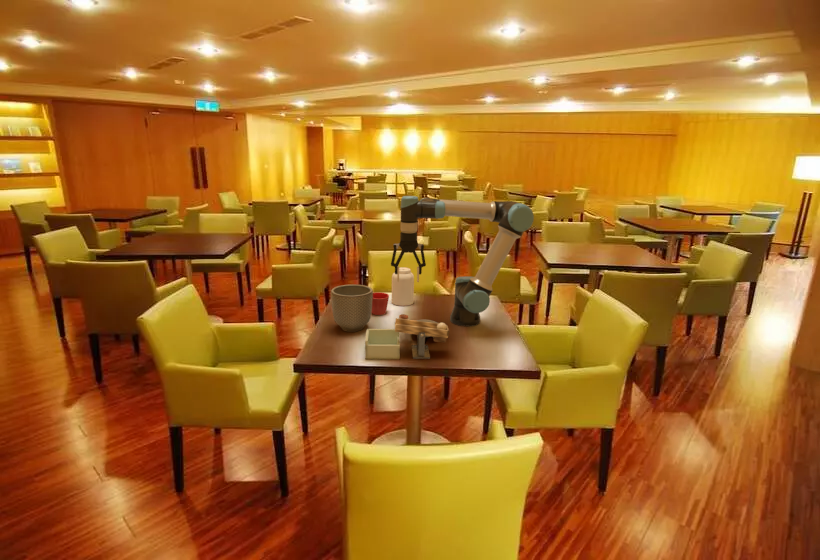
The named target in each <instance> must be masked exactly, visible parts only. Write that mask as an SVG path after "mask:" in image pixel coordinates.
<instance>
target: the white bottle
mask: <svg viewBox="0 0 820 560" xmlns="http://www.w3.org/2000/svg"><path fill="white" fill-rule="evenodd" d="M414 292H415V275H414V273H413V272H412V269H411V268H409V267H404V266H399V282H397V274H395V271H394V272H393V273H392V275H391V303H392V305H396V306H400V307H402V306H403V307H406V306H411V305H413V304H414V301H415V300H414V299H415V298H414V296H415V295H414Z"/></svg>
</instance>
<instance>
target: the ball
mask: <svg viewBox="0 0 820 560" xmlns="http://www.w3.org/2000/svg"><path fill="white" fill-rule="evenodd" d="M438 323H439V324H438V325H437V329H442V330H446V323H445V322H438Z"/></svg>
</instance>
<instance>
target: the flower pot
mask: <svg viewBox="0 0 820 560" xmlns="http://www.w3.org/2000/svg"><path fill="white" fill-rule="evenodd" d="M389 298H390V295H389V294H388V293H385V292H373V302H372V313H371V315H374V316H383V315H385V314H386V313H387V308H388V304H389Z"/></svg>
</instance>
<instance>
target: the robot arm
mask: <svg viewBox="0 0 820 560" xmlns="http://www.w3.org/2000/svg"><path fill="white" fill-rule="evenodd" d="M400 200H401V201H400V231H401V232H400V238H399V239H400V240H399V243H393V251H392V256H391V263H390V266H391V267H394V272H395V274H397V282H399V268H400V266H399V264H400V263H401V260H402V259H403V256H404V254H405V253H406V254H407V253H410V254H413V256H414V259H415V261H416V263H417V265H418V266H417V267H416V282H417V283H419V282H420V275H422V273H423V270H422V268H423V267H426V265H427V263H426V258H425V253H424V248H425V244H423V243H418V223H419V222H418V221H419V220H418V219H436V220H438V219H444V218H445V217H455V218H456V217H457V218H467V219H481V220H482V219H483V220H489V222H491V223H493V222H495V223H498V225H497V227H498V232H497V233H496V236H495V238H494V239H493V242H492V244H491V245H490V248H489V249H488V250H487V253H486V255H485V257H484V258H483V260H482V263H481V265H480V266H479V268H478V270H477V272H476V274H475V276H458V277H456V278H455V282H454V302H453V303H454V304H453V308H452V312H451V313H450V317H449V320H450V322H451V323H452V324H453V325H457V326H461V327H475V326H478V325H479V324H480V323H481V316H480V313H482V312H485V311H486V310H487V309H488V307H489V306H490V303H491V302H490V301H491V300H490V296H491V295H492V292H493V287H492V285H493V283H494V282H495V280H496V278H497V276H498V274H499V272H500V270H501V268H502V266H504V265H503V264H504V263H505V262H506V259H507V257H508V255H509V253H510V251H511V249H512V247H513V246H514V244H515V242H516V240H517V239H520V238H521V237H522V236H523V234H524V233H525V231H527V230H529V229H530V228H531V227H532V225H533V224H534V220H535V219H534V218H535V217H534V216H535V215H534V212H533V210H532V209H531V207H530V206H528V205H526V204H525V203H522V202H517V201H514V200H513V201H512V200H511V201H510V200H507V201H506V200H505V201H496V200H495V201H494V200H492V201H491V202H479V201H478V202H477V201H465V200H454V199H453V200H452V199H442V198H441V199H440V198H439V199H437V198H430V197H424V198H421V199H420V200H419V197H418V196H415V195H403V196H402V197H401V199H400ZM399 247H400V250H401V251H400V253H399V255H398V258H397V259H396V254H397V250H398V249H399ZM417 248H418V249H419V251H420V255H421V261H422V263H421V261H420V259H419V256H418V254H417V251H416V249H417ZM395 260H396V262H395Z"/></svg>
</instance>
